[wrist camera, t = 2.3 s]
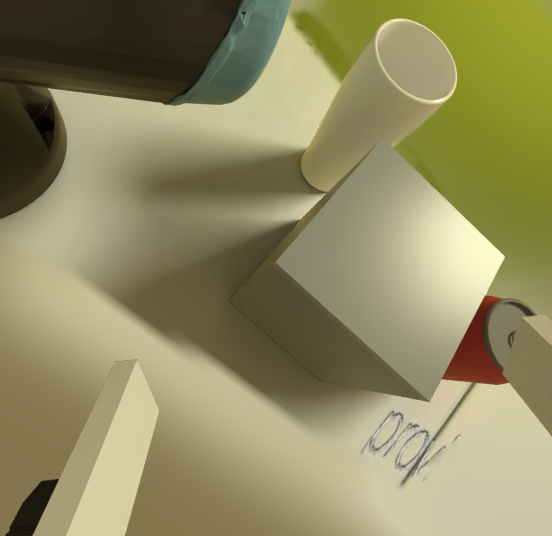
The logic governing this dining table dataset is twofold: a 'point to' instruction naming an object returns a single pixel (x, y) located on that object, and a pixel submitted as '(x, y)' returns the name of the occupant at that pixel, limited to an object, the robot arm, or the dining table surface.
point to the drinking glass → (380, 99)
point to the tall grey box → (374, 281)
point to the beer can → (488, 342)
